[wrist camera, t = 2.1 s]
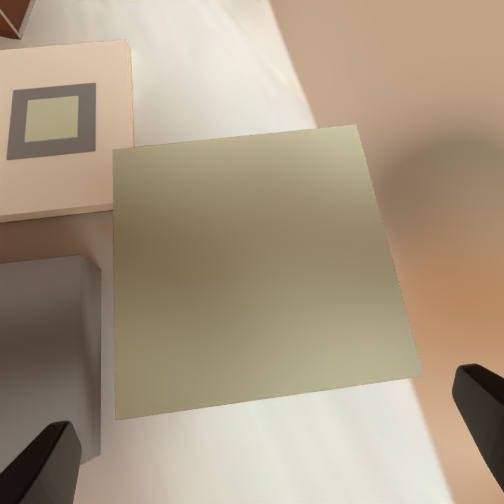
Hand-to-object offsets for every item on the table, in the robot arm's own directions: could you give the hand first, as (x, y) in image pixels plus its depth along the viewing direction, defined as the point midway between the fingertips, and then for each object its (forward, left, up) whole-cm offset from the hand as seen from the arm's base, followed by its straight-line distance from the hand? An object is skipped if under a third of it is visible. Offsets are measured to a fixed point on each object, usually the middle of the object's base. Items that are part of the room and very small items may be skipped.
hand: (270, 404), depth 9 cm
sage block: (+3, 0, -10) cm, 10 cm away
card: (+17, +10, -10) cm, 22 cm away
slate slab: (+3, +12, -10) cm, 16 cm away
